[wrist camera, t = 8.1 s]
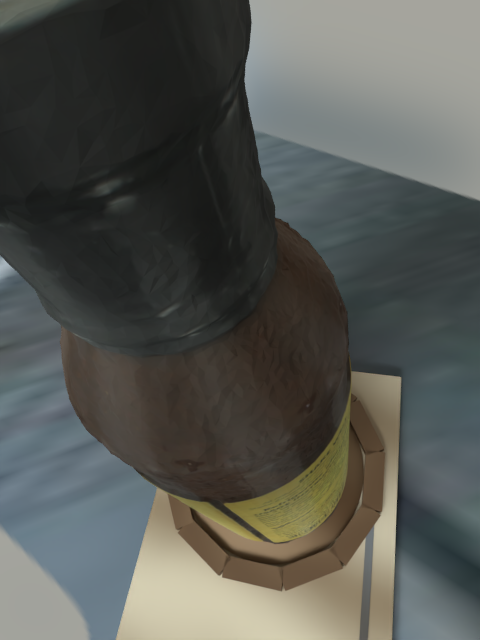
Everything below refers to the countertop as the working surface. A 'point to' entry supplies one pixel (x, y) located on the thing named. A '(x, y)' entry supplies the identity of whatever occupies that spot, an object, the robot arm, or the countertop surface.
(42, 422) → the countertop surface
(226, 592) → the beige flat board
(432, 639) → the countertop surface
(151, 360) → the sauce bottle
